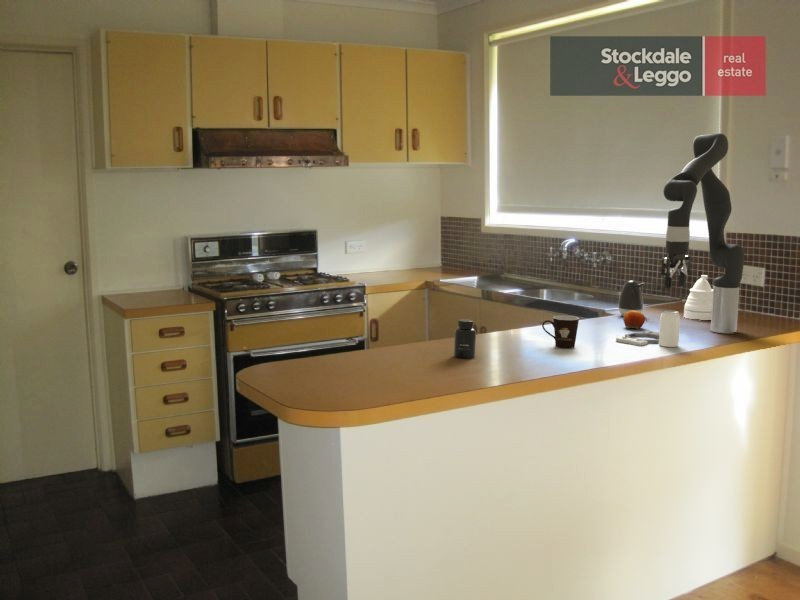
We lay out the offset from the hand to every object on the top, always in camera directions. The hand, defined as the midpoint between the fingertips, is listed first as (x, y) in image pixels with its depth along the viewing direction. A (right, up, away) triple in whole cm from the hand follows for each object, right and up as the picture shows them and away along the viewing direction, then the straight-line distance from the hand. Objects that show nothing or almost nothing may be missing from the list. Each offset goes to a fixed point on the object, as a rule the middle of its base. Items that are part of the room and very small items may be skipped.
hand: (675, 287), depth 288 cm
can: (-1, -21, +4) cm, 21 cm away
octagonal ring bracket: (-6, -19, +14) cm, 24 cm away
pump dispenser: (+2, -11, +64) cm, 65 cm away
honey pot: (+30, -12, +61) cm, 69 cm away
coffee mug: (-38, -20, +2) cm, 44 cm away
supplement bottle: (-73, -23, -16) cm, 78 cm away
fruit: (-4, -16, +37) cm, 40 cm away
